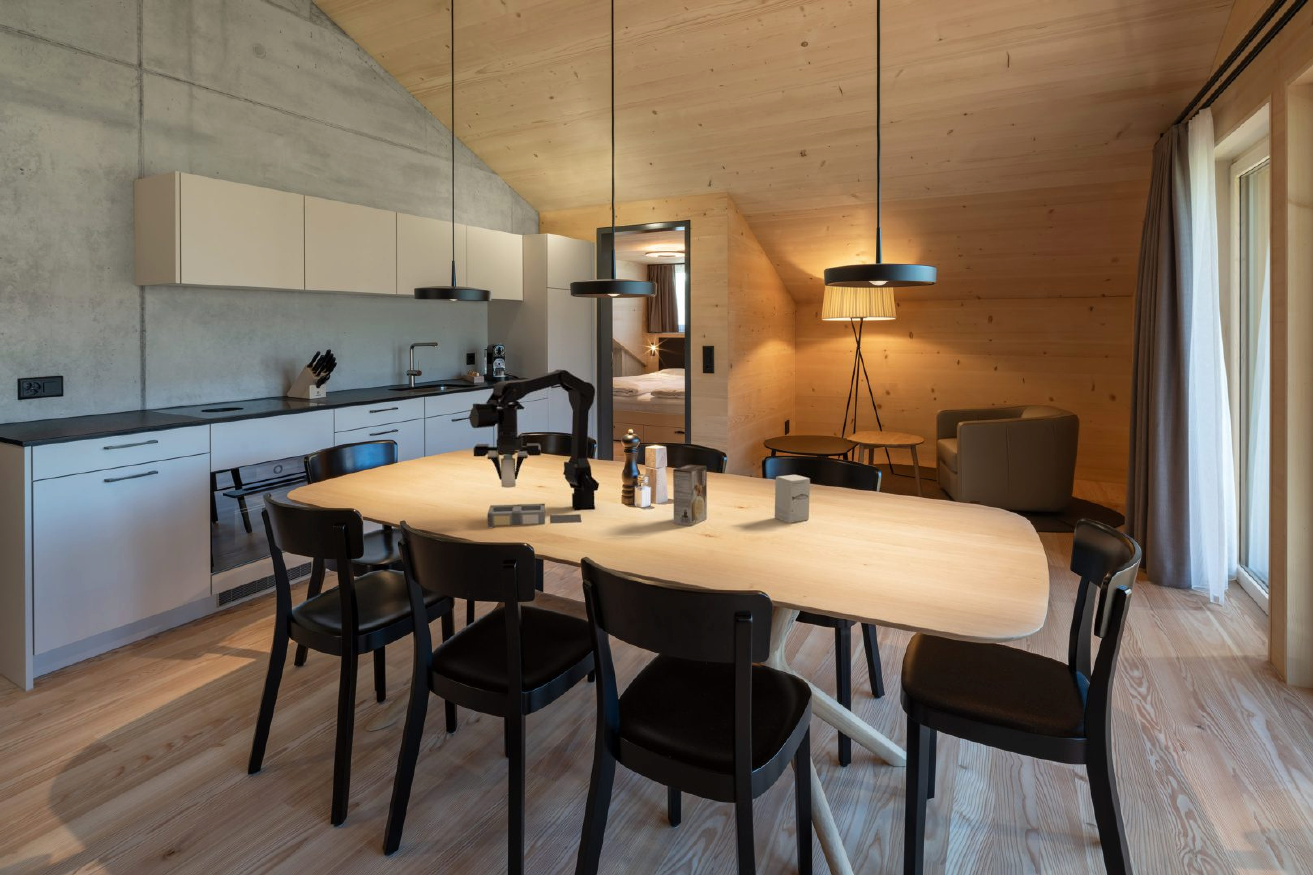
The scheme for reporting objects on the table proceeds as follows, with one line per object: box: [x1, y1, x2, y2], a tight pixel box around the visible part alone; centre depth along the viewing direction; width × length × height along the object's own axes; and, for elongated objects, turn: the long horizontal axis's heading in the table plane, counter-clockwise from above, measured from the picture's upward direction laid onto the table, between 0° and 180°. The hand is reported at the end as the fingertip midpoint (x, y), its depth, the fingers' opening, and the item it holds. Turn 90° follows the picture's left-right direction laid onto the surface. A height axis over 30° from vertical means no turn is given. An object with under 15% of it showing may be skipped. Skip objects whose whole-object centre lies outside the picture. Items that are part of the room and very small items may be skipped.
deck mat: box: [549, 513, 582, 524], centre depth 217 cm, size 9×9×1 cm
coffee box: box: [672, 464, 708, 527], centre depth 214 cm, size 9×6×16 cm
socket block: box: [486, 503, 546, 529], centre depth 215 cm, size 16×10×4 cm, turn 98°
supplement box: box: [774, 474, 811, 524], centre depth 216 cm, size 7×7×13 cm
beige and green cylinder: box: [500, 455, 516, 489], centre depth 212 cm, size 4×4×9 cm
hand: (508, 479), depth 213 cm, fingers closed on beige and green cylinder, 4 cm apart
